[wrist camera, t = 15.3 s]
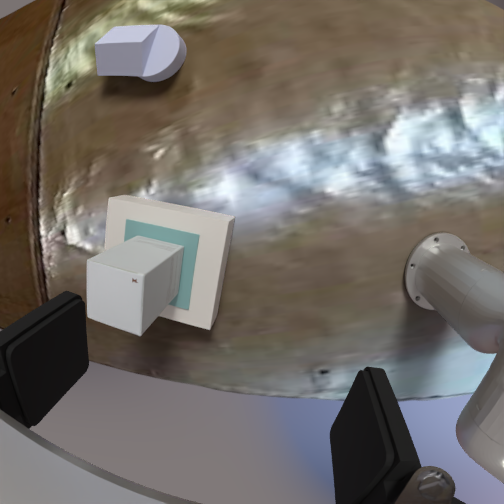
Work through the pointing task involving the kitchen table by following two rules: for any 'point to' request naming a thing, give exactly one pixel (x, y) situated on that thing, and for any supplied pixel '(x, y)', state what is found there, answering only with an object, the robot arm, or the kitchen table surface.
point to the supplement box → (133, 283)
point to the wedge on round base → (140, 52)
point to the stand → (194, 255)
